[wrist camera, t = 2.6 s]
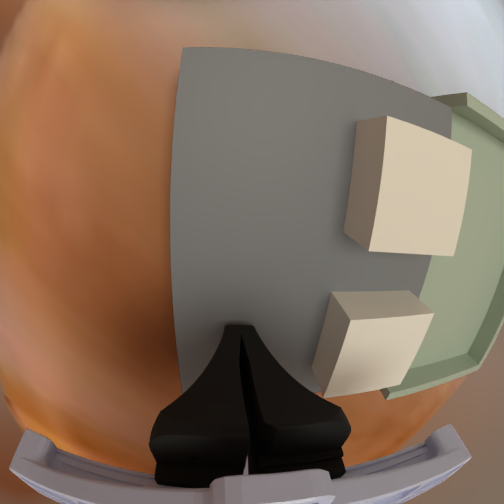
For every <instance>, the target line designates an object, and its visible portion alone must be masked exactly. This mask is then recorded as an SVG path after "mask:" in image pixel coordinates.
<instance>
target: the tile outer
mask: <svg viewBox="0 0 504 504" xmlns="http://www.w3.org/2000/svg"><path fill="white" fill-rule="evenodd" d="M471 156H472V149H470V148H467V147H465V146H463V145H461V144H459V143H457V142H455V141H453V140H450V139H448V138H446V137H443V136H441V135H439V134H436V133H434V132H431V131H429V130H426V129H424V128H421V127H419V126H416V125H413V124H410V123H408V122H405V121H402V120H399V119H396V118H393V117H390V116H382V117H376V118H370V119H364V120H359V121H357V124H356V137H355V148H354V158H353V167H352V175H351V183H350V191H349V198H348V205H347V211H346V218H345V224H344V230H343V232H344V233H345V234H347V235H348V236H349V237H351V238H352V239H353V240H355V241H356V242H357V243H359V244H360V245H361V246H362V247H364V248H365V249H366V250H368V251H373V252H390V253H407V254H423V255H439V256H454V253H455V249H456V245H457V241H458V237H459V233H460V229H461V224H462V219H463V214H464V209H465V203H466V197H467V191H468V184H469V176H470V167H471Z"/></svg>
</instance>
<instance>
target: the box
mask: <svg viewBox="0 0 504 504" xmlns="http://www.w3.org/2000/svg"><path fill="white" fill-rule="evenodd" d="M431 98H433V99H435V100H437V101H439V102H441V103H443V104H445V105H447V106H449V107H451V108H452V130H451V140H453V141H455V142H457V143H459V144H461V145H463V146H465V147H467V148H470V149H472V156H471V167H470V176H469V184H468V191H467V197H466V203H465V209H464V214H463V219H462V224H461V229H460V233H459V237H458V241H457V245H456V249H455V253H454V256H439V255H432V257H431V261H430V265H429V268H428V271H427V275H426V278H425V281H424V284H423V287H422V290H421V293H420V296H419V299H420V300H421V301H422V302H423V303H424V304H425V305H426V306H427V307H428V308H430V309H431V310H432V311H433V312H434V315H433V318H432V320H431V323H430V325H429V327H428V330H427V332H426V334H425V336H424V339H423V341H422V343H421V345H420V347H419V349H418V351H417V354H416V356H415V358H414V360H413V362H412V363H411V365H410V367H409V369H408V371H407V373H406V375H405V377H404V378H403V380H402V382H401V384H400V385H396V386H392V387H387V388H382V389H380V391H381V392H382V394H383V396H384V398H385V400H389V399H393V398H397V397H401V396H405V395H408V394H412V393H415V392H418V391H422V390H425V389H428V388H431V387H434V386H437V385H440V384H443V383H446V382H448V381H451V380H454V379H456V378H459V377H462V376H464V375H467V374H469V373H471V372H474V371H476V370H478V369H479V368H480V367H481V365H482V363H483V362H484V360H485V358H486V356H487V355H488V353H489V351H490V349H491V347H492V345H493V343H494V342H495V339H496V338H497V336H498V334H499V332H500V330H501V327H502V325H503V323H504V119H503V118H502V117H501V116H500V115H498V114H497V113H496V112H494V111H493V110H492V109H490V108H489V107H488V106H486V105H485V104H483V103H482V102H480V101H479V100H478V99H476V98H475V97H473V96H471V95H470V94H468V93H458V94H450V95H442V96H435V97H431Z"/></svg>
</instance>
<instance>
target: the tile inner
mask: <svg viewBox="0 0 504 504" xmlns="http://www.w3.org/2000/svg"><path fill="white" fill-rule="evenodd" d="M433 315H434V312H433V311H432V310H431V309H430V308H428V307H427V306H426V305H425V304H424V303H423V302H422V301H421V300H420V299H419V298H417V297H416V296H415V295H414V294H413V293H412V292H411V291H410V290H405V291H354V292H331V295H330V299H329V304H328V308H327V312H326V316H325V320H324V324H323V328H322V332H321V335H320V339H319V343H318V346H317V350H316V353H315V357H314V360H313V364H312V369H313V372H314V374H315V377H316V380H317V383H318V385H319V388H320V391H321V394H322V396H323V398H329V397H336V396H343V395H350V394H356V393H362V392H367V391H373V390H378V389H382V388H387V387H392V386H396V385H400V384H401V382H402V380H403V378H404V377H405V375H406V373H407V371H408V369H409V367H410V365H411V363H412V362H413V360H414V358H415V356H416V354H417V351H418V349H419V347H420V345H421V343H422V341H423V339H424V336H425V334H426V332H427V330H428V327H429V325H430V323H431V320H432V318H433Z"/></svg>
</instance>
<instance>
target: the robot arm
mask: <svg viewBox="0 0 504 504" xmlns="http://www.w3.org/2000/svg"><path fill="white" fill-rule="evenodd" d="M350 432H351V426H350V424H349V421H348V419H347V417H346V415H345V414H344V412H343V410H342V409H341V407H339V406H337V405H335V404H333V403H331V402H329V401H327V400H325V399H323V398H321V397H319V396H318V395H316V394H314V393H313V392H311V391H310V390H308V389H307V388H306V387H304V386H303V385H302V384H300V383H299V382H298V381H297V380H295V379H294V378H293V377H292V376H291V375H290V374H289V373H288V372H287V371H286V370H285V369H284V368H283V367H282V366H281V365H280V364H279V363H278V361H277V360H276V359H275V358H274V357H273V355H272V354H271V353H270V351H269V350H268V349H267V347H266V346H265V344H264V343H263V341H262V340H261V338H260V336H259V335H258V333H257V331H256V329H255V327H254V326H253V325H229V324H227V325H225V326H224V332H223V335H222V338H221V341H220V343H219V345H218V347H217V349H216V351H215V353H214V355H213V357H212V358H211V360H210V362H209V363H208V365H207V366H206V368H205V369H204V371H203V372H202V373H201V375H200V376H199V377H198V378H197V380H196V381H195V382H194V383H193V384H192V385H191V386H190V387H189V388H188V389H187V390H186V391H185V392H184V393H183V394H182V395H181V396H180V397H179V398H178V399H176V400H175V401H174V402H173V403H171V404H170V405H168V406H167V407H166V408H164V409H163V410H162V411H160V413H159V415H158V417H157V419H156V421H155V423H154V426H153V428H152V431H151V436H150V442H149V447H150V450H151V452H152V454H153V456H154V458H155V460H156V462H157V463H156V471H155V475H153V474H147V473H142V472H137V471H132V470H127V469H123V468H118V467H114V466H110V465H107V464H103V463H100V462H96V461H93V460H89V459H86V458H83V457H80V456H77V455H74V454H72V453H69V452H66V451H63V450H61V449H58V448H57V447H56V446H55V444H54V443H53V442H52V441H51V440H50V439H48V438H47V437H45V436H43V435H41V434H39V433H36V432H34V431H32V430H30V429H26V430H25V432H24V435H23V437H22V439H21V441H20V443H19V446H18V448H17V450H16V453H15V455H14V457H13V460H12V463H11V465H10V470H11V471H12V472H13V473H14V474H16V475H17V476H18V477H19V478H20V479H22V480H23V481H24V482H25V483H27V484H28V485H29V486H31V487H32V488H33V489H35V490H36V491H37V492H39V493H41V494H43V495H45V496H47V497H49V498H51V499H53V500H55V501H57V502H59V503H61V504H401V503H403V502H405V501H408V500H410V499H412V498H414V497H415V496H418V495H419V494H421V493H423V492H425V491H427V490H429V489H431V488H432V487H434V486H436V485H438V484H440V483H441V482H443V481H444V480H446V479H447V478H448V477H449V476H451V475H452V474H453V473H454V472H456V471H457V470H458V469H459V468H460V467H462V466H463V465H464V464H465V463H466V462H467V461H468V460H470V459H471V455H470V453H469V452H468V450H467V449H466V447H465V445H464V444H463V442H462V440H461V439H460V437H459V435H458V434H457V432H456V431H455V429H454V428H453V426H452V425H451V424H448V425H447V426H444V427H442V428H440V429H438V430H436V431H434V432H433V433H431V434H430V435H429V436H428V437H427V439H426V440H425V442H422V443H420V444H417V445H416V446H413V447H410V448H407V449H405V450H402V451H399V452H397V453H394V454H391V455H388V456H385V457H382V458H379V459H375V460H372V461H369V462H365V463H362V464H358V465H354V466H350V467H346V468H345V466H344V463H343V460H342V458H341V457H343V451H342V448H341V447H342V445H343V444H344V442H345V441H346V439H347V438H348V436H349V435H350Z"/></svg>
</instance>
